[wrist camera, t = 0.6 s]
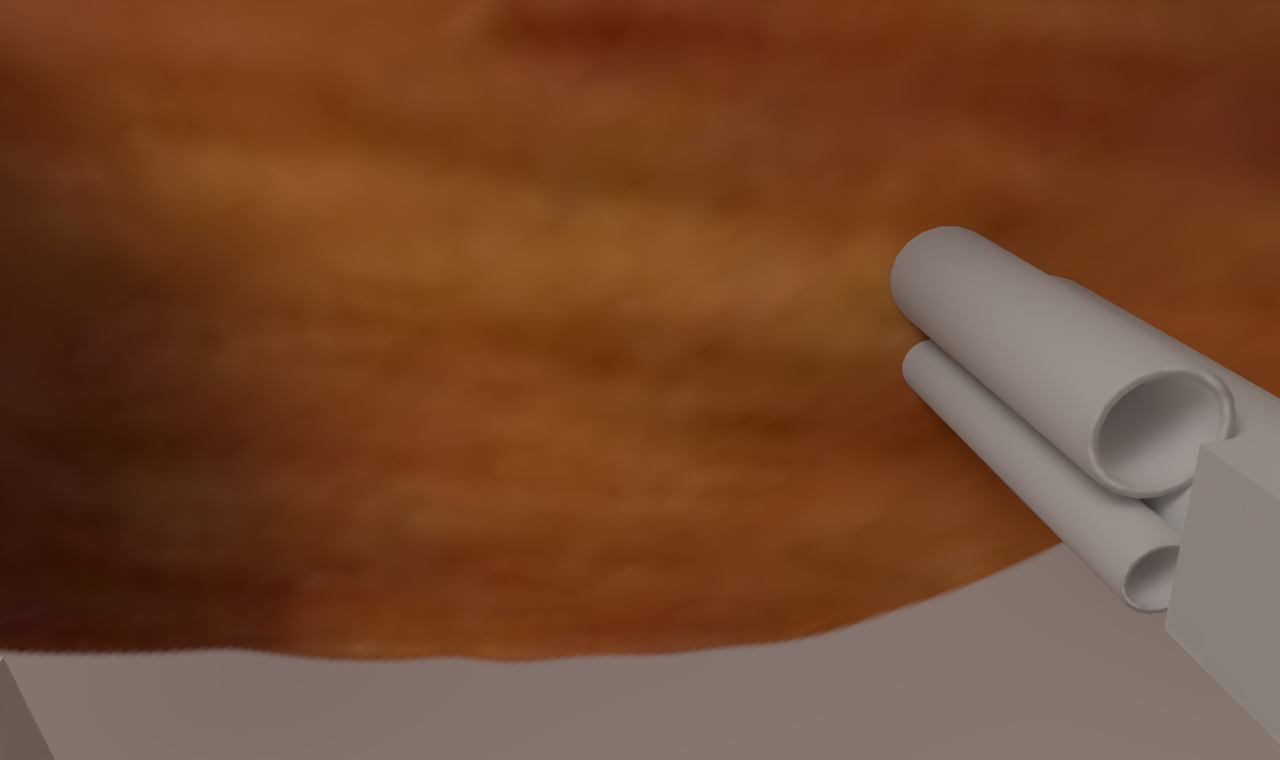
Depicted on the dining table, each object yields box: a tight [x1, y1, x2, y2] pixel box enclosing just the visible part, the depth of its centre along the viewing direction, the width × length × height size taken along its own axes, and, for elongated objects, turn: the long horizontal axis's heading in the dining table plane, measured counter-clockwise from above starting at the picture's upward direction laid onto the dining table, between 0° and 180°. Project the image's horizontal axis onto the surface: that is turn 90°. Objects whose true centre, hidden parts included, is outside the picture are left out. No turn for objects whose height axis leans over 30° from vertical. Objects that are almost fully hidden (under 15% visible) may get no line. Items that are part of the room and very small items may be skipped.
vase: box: [890, 226, 1280, 613], centre depth 33 cm, size 11×7×20 cm, turn 65°
